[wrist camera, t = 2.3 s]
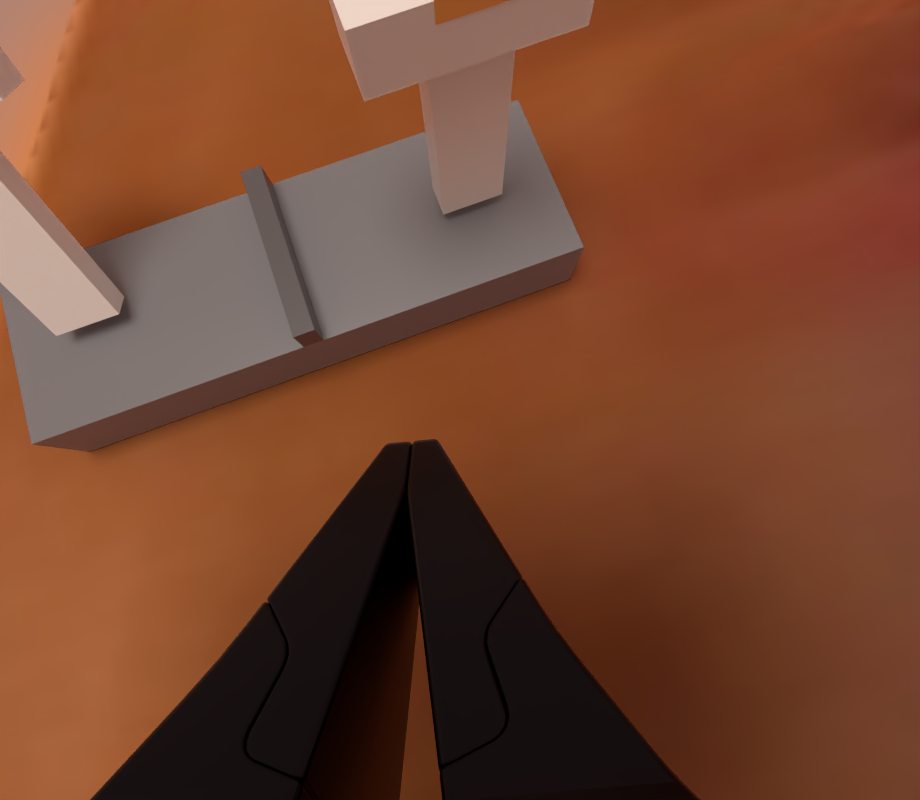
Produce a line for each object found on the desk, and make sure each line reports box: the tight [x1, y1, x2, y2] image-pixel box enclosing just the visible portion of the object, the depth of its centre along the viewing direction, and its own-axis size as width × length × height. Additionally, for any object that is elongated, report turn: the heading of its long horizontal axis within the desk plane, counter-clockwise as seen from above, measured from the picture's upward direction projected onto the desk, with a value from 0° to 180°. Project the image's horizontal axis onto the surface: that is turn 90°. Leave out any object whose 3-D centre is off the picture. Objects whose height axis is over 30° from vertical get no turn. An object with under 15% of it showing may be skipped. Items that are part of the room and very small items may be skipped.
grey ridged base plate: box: [0, 100, 584, 452], centre depth 21 cm, size 7×22×4 cm, turn 110°
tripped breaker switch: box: [329, 0, 595, 215], centre depth 16 cm, size 2×6×9 cm, turn 110°
